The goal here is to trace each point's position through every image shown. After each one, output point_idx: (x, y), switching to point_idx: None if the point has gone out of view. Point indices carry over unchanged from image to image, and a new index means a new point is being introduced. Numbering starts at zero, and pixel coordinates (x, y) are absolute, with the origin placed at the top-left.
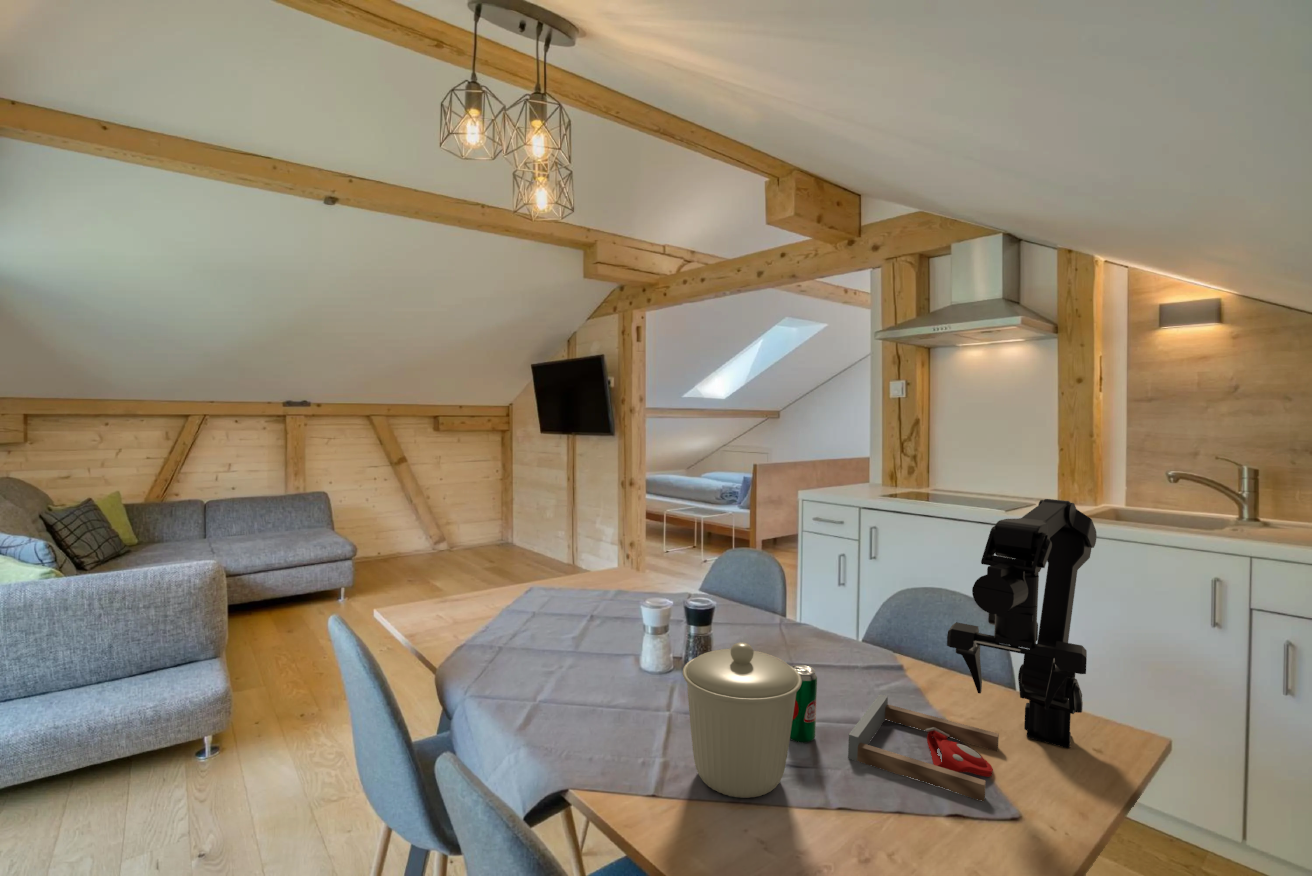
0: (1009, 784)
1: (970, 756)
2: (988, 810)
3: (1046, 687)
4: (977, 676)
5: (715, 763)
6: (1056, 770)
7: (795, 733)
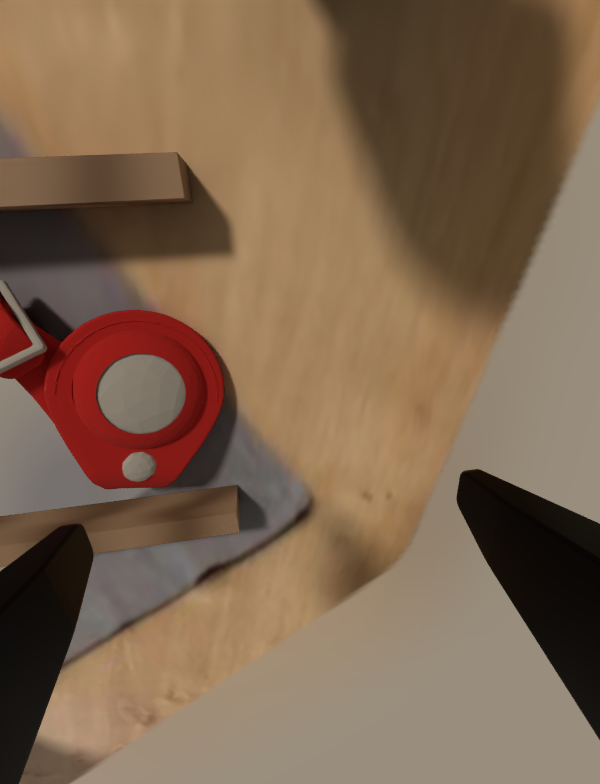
0: (270, 394)
1: (164, 433)
2: (255, 522)
3: None
4: (18, 756)
5: None
6: (374, 212)
7: None
